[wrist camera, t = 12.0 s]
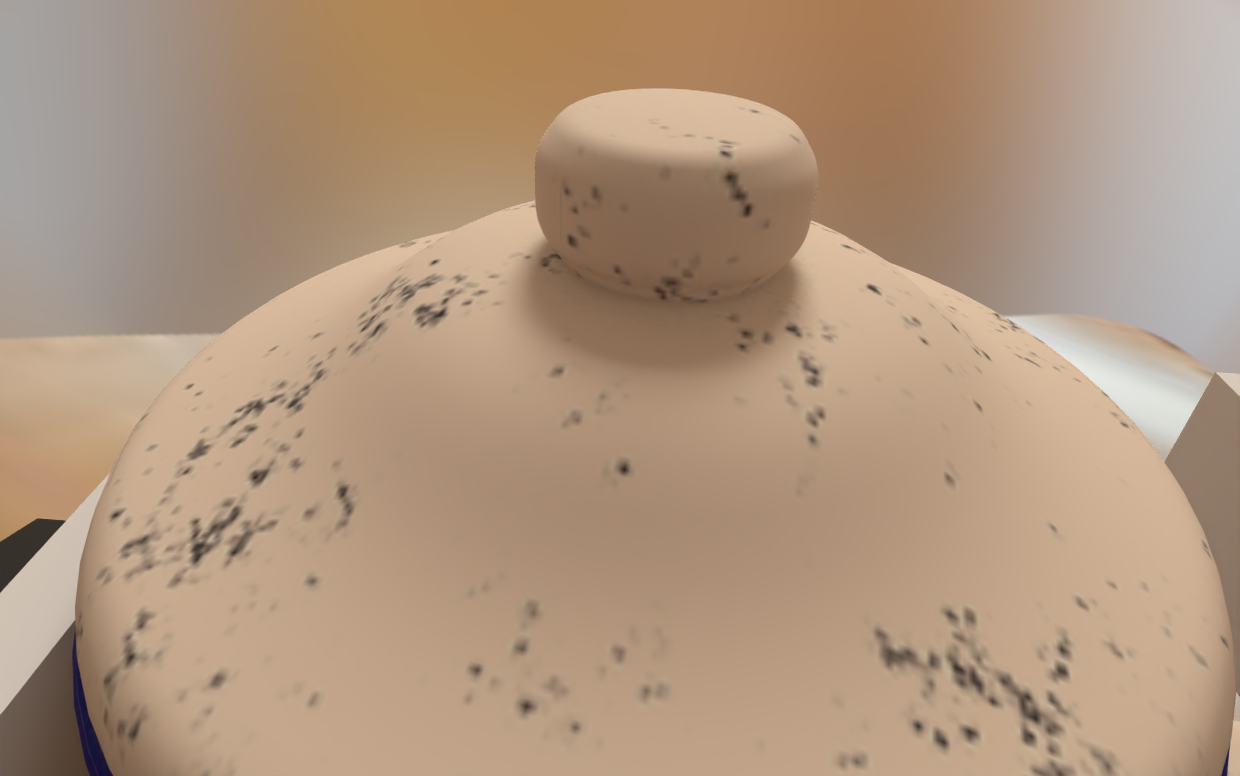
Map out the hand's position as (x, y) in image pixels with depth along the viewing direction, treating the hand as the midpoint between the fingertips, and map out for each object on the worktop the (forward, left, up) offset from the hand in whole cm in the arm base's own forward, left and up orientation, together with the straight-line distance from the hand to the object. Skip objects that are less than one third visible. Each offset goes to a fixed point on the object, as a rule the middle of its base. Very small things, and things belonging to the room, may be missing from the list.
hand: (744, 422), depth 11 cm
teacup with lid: (+2, -3, -7) cm, 8 cm away
